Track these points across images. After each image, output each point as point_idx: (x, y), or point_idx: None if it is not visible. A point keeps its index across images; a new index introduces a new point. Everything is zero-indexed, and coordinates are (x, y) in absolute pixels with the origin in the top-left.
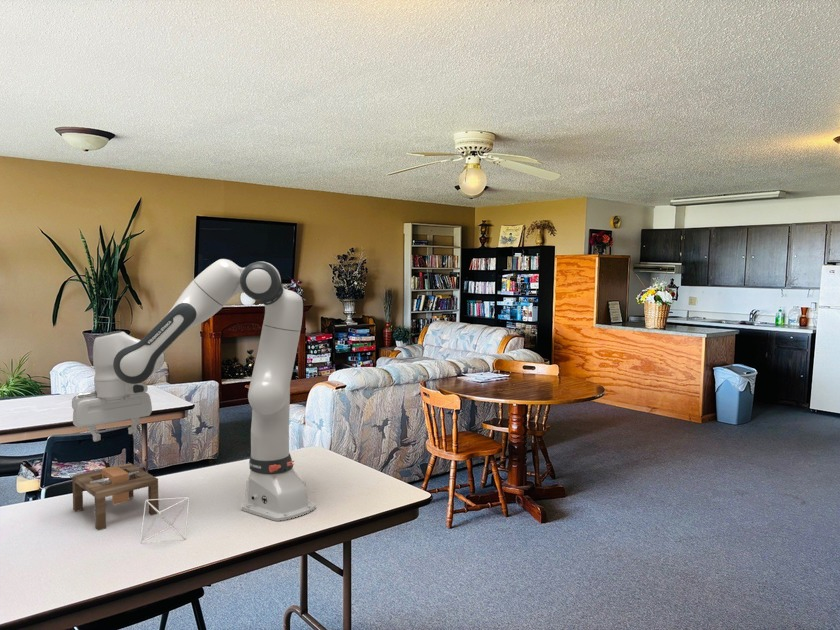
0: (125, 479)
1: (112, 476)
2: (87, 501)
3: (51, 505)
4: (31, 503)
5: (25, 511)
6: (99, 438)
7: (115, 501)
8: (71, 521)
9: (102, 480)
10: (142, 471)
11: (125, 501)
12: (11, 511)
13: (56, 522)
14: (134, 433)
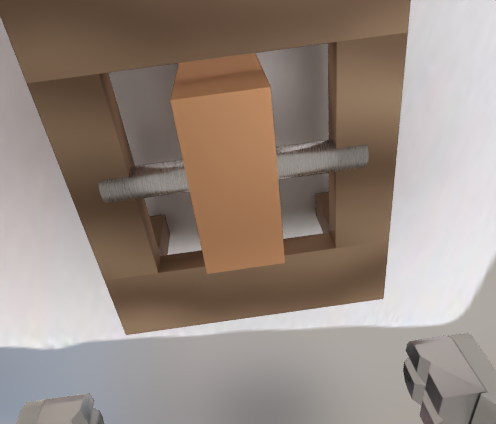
0: (193, 85)
1: (271, 107)
2: None
3: None
4: (408, 316)
5: (445, 269)
6: (432, 354)
7: None
8: None
9: (305, 153)
10: (78, 187)
11: None
12: (469, 287)
13: (422, 126)
14: (41, 400)
